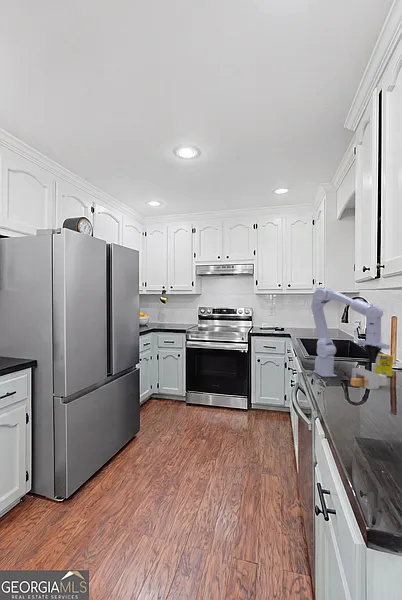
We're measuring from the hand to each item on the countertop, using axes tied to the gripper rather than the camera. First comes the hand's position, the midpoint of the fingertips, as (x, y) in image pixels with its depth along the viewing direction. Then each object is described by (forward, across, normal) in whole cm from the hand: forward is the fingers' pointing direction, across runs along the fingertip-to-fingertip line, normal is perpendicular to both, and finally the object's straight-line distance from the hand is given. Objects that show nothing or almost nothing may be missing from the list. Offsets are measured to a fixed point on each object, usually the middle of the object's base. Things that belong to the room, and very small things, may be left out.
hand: (372, 362), depth 141 cm
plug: (+11, -1, -1) cm, 11 cm away
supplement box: (+11, -9, +21) cm, 25 cm away
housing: (+10, -1, -3) cm, 11 cm away
